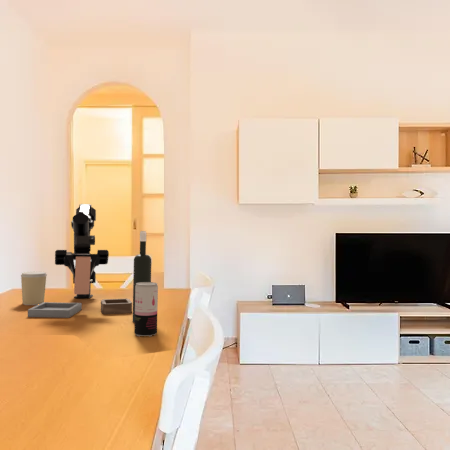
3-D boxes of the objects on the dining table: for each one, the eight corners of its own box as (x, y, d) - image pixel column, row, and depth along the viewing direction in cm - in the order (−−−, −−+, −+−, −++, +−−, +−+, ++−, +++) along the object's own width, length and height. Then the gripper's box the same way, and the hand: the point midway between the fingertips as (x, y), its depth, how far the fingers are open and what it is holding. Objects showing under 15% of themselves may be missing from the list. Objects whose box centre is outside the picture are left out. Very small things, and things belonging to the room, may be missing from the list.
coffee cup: (50, 301, 183) (51, 271, 183) (38, 306, 173) (39, 274, 173) (28, 300, 184) (28, 271, 184) (15, 305, 174) (16, 273, 174)
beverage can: (151, 330, 138) (152, 281, 138) (160, 335, 133) (161, 284, 133) (131, 333, 135) (132, 282, 135) (139, 338, 129) (140, 285, 129)
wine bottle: (129, 321, 150) (130, 230, 150) (143, 318, 155) (144, 230, 155) (139, 324, 147) (141, 231, 146) (153, 321, 151) (155, 231, 151)
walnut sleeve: (100, 308, 171) (100, 299, 171) (128, 307, 174) (128, 298, 174) (102, 314, 161) (102, 304, 161) (132, 312, 164) (132, 303, 164)
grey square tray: (43, 309, 168) (43, 302, 168) (81, 309, 168) (81, 302, 168) (27, 316, 154) (27, 309, 154) (69, 317, 154) (69, 310, 154)
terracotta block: (74, 292, 165) (75, 256, 165) (88, 291, 167) (90, 256, 167) (74, 294, 160) (76, 257, 160) (89, 294, 162) (90, 257, 162)
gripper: (55, 227, 164) (54, 260, 154) (108, 228, 170) (111, 260, 160) (55, 247, 171) (54, 281, 161) (106, 248, 178) (108, 279, 167)
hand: (82, 275), depth 162 cm, fingers closed on terracotta block, 5 cm apart
